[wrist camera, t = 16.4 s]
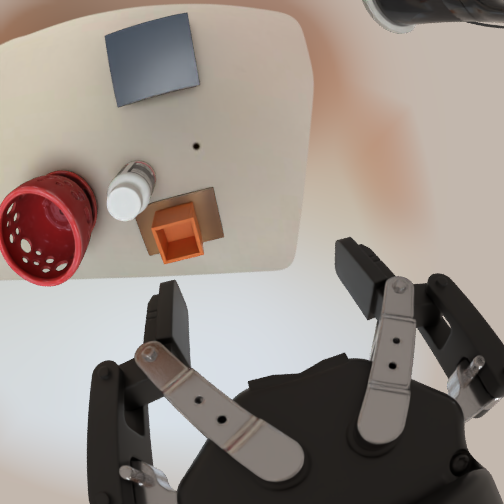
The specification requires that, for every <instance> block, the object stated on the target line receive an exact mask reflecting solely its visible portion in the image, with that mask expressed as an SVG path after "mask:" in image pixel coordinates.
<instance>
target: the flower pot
mask: <svg viewBox="0 0 504 504" xmlns="http://www.w3.org/2000/svg"><path fill="white" fill-rule="evenodd" d="M12 204H13V206H12V209H11V211H10V212H9V213H8V214H7V211H8V209H9V207H10V206H11V205H12ZM16 213H17V218H16V220H15V221H14V216H15V214H16ZM96 219H97V204H96V199H95V196H94V194H93V192H92V190H91V188H90V187H89V185H88V184H87V183H86V182H85V181H84V180H83V179H82V178H81V177H80V176H78V175H77V174H75V173H72V172H69V171H54V172H51V173H49V174H47V175H45V176H40V177H37V178H34V179H32V180H29V181H27V182H25V183H23V184H22V185H20V186H18V187H17V188H16V189H14V190H13V191H12V192H10V193H9V194H8V195H7V196H6V197H5V199H4V200H3V202H2V203H1V205H0V250H1V253H2V255H3V257H4V259H5V260H6V262H7V263H8V265H9V266H10V267H11V268H12V269H13V270H14V271H15V272H16V273H17V274H18V275H19V276H21V277H22V278H23V279H25V280H27V281H29V282H31V283H33V284H36V285H40V286H56V285H59V284H62V283H64V282H65V281H67V280H68V279H69V278H71V277H72V275H73V274H74V273H75V272H76V270H77V269H78V267H79V265H80V263H81V261H82V259H83V257H84V254H85V252H86V249H87V246H88V244H89V241H90V237H91V232H92V230H93V228H94V226H95V223H96ZM8 221H9V224H8V227H7V222H8ZM16 228H18V229H19V234H18V235H17V234H16ZM10 234H12V236H13V243H11V242H10ZM22 239H25V240H27V241H28V242H29V244H30V246H31V251H30V252H29V253H26V252H25V251H23V249H22V248H21V240H22ZM36 251H39V252H41V255H37V254H36ZM23 258H26V259H27V261H28V262H27V263H25V262H24V261H23ZM47 259H53V260H54V261H53V262H52V263H47V262H46V260H47ZM33 262H38V263H39V265H35V264H34V263H33ZM64 263H67V266H66V267H65V268H64V269H63V270H60V271H57V270H56V268H57V267H58V266H59V265H61V264H64ZM43 269H50V271H49V272H46V273H45V272H43V271H42V270H43Z"/></svg>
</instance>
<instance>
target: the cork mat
mask: <svg viewBox="0 0 504 504" xmlns="http://www.w3.org/2000/svg"><path fill="white" fill-rule="evenodd" d="M189 202H193V205H194V209H195V212H196V216H197V220H198V224H199V228H200V231H201V235H202V242H206V241H210V240H214V239H218V238H222V237H224V234H223V230H222V225H221V221H220V216H219V212H218V207H217V203H216V198H215V194H214V189H213V187H212V188H207V189H203V190H199V191H195V192H191V193H187V194H183V195H179V196H175V197H172V198H168V199H164V200H160V201H157V202H153V203H150V204H148V206H147V207H146V208H145V210H144V211H142V212H141V213H140V214H138V215H137V216H136V217H135V218H136V221H137V224H138V227H139V229H140V232H141V235H142V237H143V240H144V243H145V245H146V248H147V251H148V253H149V255H154V254H158V253H160V252H159V249H158V247H157V244H156V241H155V238H154V236H153V233H152V230H151V227H152V222H153V218H154V214H155V211H158V210H162V209H166V208H170V207H173V206H177V205H181V204H185V203H189Z"/></svg>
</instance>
